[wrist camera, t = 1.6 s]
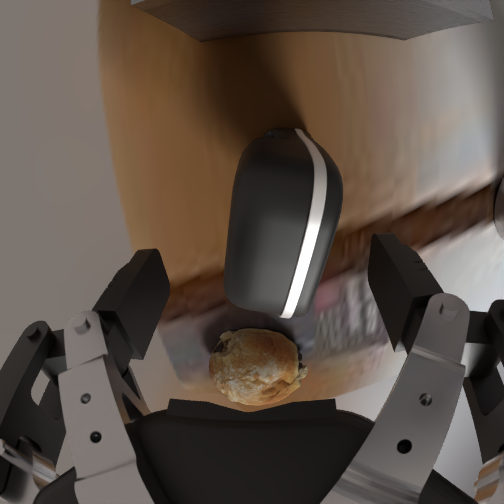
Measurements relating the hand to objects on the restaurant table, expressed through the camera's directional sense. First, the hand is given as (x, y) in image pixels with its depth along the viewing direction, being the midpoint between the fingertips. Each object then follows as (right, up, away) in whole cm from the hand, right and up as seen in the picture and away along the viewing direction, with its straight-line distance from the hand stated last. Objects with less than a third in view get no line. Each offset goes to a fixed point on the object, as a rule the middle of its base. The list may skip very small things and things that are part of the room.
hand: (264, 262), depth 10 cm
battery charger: (+1, +6, +9) cm, 11 cm away
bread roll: (0, -11, +20) cm, 23 cm away
